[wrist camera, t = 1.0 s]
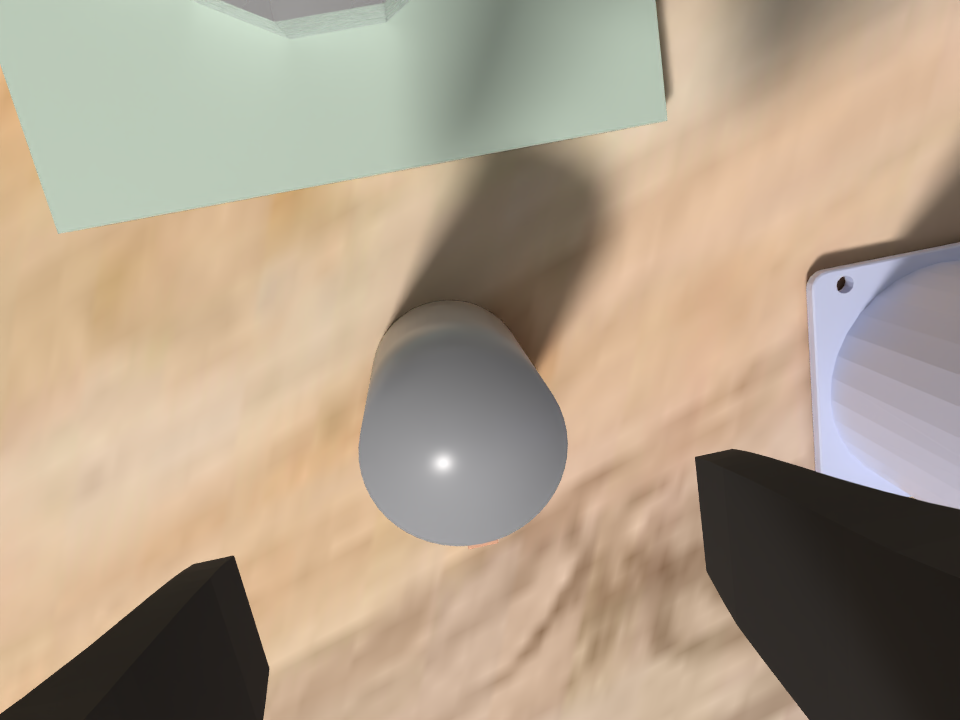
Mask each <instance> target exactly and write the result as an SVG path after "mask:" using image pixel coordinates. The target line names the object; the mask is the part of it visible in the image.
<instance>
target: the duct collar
mask: <svg viewBox="0 0 960 720" xmlns="http://www.w3.org/2000/svg"><path fill="white" fill-rule="evenodd" d="M191 1H193V2H196V3H198V4H201V5H203V6H206V7H209V8H211V9H214V10H216V11H219V12H221V13H224V14H226V15H229V16H232V17H234V18H237V19H239V20H242V21H244V22H247V23H249V24H252V25H255V26H257V27H260V28H262V29H265V30H267V31H270V32H272V33H275V34H278V35H280V36H283V37H285V38H288V39H295V38H300V37H306V36H312V35H318V34H323V33H329V32H335V31H341V30H346V29H352V28H358V27H363V26H369V25H375V24H381V23H386V22H388V21H389V20H390V19H391V18H392V17H393V16H394V15H395V14H396V13H397V12H398V11H399V10H401V9H402V8H403V7H404V6H405V5H406V4H407V3H408V2H409V1H410V0H191Z"/></svg>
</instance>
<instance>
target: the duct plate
mask: <svg viewBox="0 0 960 720" xmlns="http://www.w3.org/2000/svg"><path fill="white" fill-rule="evenodd" d="M0 65H1V68H2V71H3V73H4V76H5V79H6V82H7V85H8V88H9V91H10V94H11V97H12V100H13V103H14V106H15V109H16V112H17V114H18V117H19V120H20V123H21V126H22V129H23V132H24V135H25V138H26V141H27V144H28V147H29V150H30V153H31V155H32V158H33V161H34V164H35V167H36V170H37V173H38V176H39V179H40V182H41V185H42V188H43V191H44V193H45V196H46V199H47V202H48V205H49V208H50V211H51V214H52V217H53V220H54V223H55V226H56V229H57V232H58V234H59V233H65V232H72V231H77V230H83V229H88V228H94V227H99V226H104V225H110V224H115V223H120V222H126V221H131V220H137V219H142V218H147V217H153V216H158V215H164V214H169V213H174V212H180V211H185V210H190V209H196V208H201V207H207V206H212V205H217V204H223V203H228V202H234V201H239V200H244V199H250V198H255V197H260V196H266V195H271V194H277V193H282V192H287V191H293V190H298V189H304V188H309V187H314V186H320V185H325V184H330V183H336V182H341V181H347V180H352V179H357V178H363V177H368V176H373V175H379V174H384V173H390V172H395V171H400V170H406V169H411V168H417V167H422V166H427V165H433V164H438V163H443V162H449V161H454V160H460V159H465V158H470V157H476V156H481V155H487V154H492V153H497V152H503V151H508V150H513V149H519V148H524V147H530V146H535V145H540V144H546V143H551V142H556V141H562V140H567V139H573V138H578V137H583V136H589V135H594V134H600V133H605V132H610V131H616V130H621V129H626V128H632V127H637V126H643V125H648V124H653V123H658V122H663V121H667V111H666V101H665V91H664V81H663V71H662V61H661V51H660V41H659V31H658V21H657V11H656V1H655V0H410V1H409V2H408V3H407V4H406V5H405V6H404V7H403V8H402V9H401V10H399V11H398V12H397V13H396V14H395V15H394V16H393V17H392V18H391V19H390V20H389V21H388V22H386V23H381V24H375V25H369V26H363V27H358V28H352V29H346V30H341V31H335V32H329V33H323V34H318V35H312V36H306V37H300V38H295V39H288V38H285V37H283V36H280V35H278V34H275V33H272V32H270V31H267V30H265V29H262V28H260V27H257V26H255V25H252V24H249V23H247V22H244V21H242V20H239V19H237V18H234V17H232V16H229V15H226V14H224V13H221V12H219V11H216V10H214V9H211V8H209V7H206V6H203V5H201V4H198V3H196V2H193V1H191V0H0Z"/></svg>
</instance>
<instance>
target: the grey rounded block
mask: <svg viewBox="0 0 960 720" xmlns="http://www.w3.org/2000/svg"><path fill="white" fill-rule="evenodd" d="M567 447H568V441H567V430H566V426H565V421H564V418H563V415H562V412H561V410H560V407H559V405H558V403H557V402H556V400H555V398H554V396H553V394H552V393H551V391H550V390H549V388H548V387H547V385H546V384H545V382H544V381H543V379H542V378H541V376H540V375H539V373H538V372H537V370H536V369H535V367H534V366H533V364H532V363H531V361H530V360H529V358H528V357H527V355H526V354H525V352H524V351H523V349H522V348H521V346H520V345H519V343H518V342H517V340H516V339H515V337H514V336H513V334H512V333H511V331H510V330H509V329H508V327H507V326H506V325H505V324H504V323H503V322H502V321H501V320H500V319H499V318H498V317H496V316H495V315H494V314H493V313H491V312H489V311H488V310H486V309H484V308H482V307H480V306H477V305H475V304H472V303H468V302H464V301H456V300H442V301H435V302H431V303H427V304H423V305H421V306H419V307H416V308H414V309H412V310H410V311H409V312H407V313H405V314H404V315H403V316H401V317H400V318H399V319H398V320H397V321H396V322H395V323H394V324H392V325H391V327H390V328H389V329H388V330H387V332H386V333H385V334H384V336H383V338H382V340H381V341H380V343H379V346H378V348H377V351H376V354H375V358H374V362H373V367H372V373H371V378H370V384H369V389H368V394H367V400H366V405H365V411H364V416H363V422H362V427H361V433H360V441H359V463H360V469H361V474H362V477H363V480H364V484H365V486H366V488H367V490H368V492H369V494H370V497H371V498H372V500H373V501H374V503H375V504H376V506H377V507H378V508H379V509H380V511H381V512H382V513H383V514H384V515H385V516H386V517H387V518H388V519H389V520H390V521H391V522H393V523H394V524H395V525H396V526H398V527H399V528H401V529H402V530H404V531H405V532H407V533H409V534H411V535H413V536H415V537H417V538H420V539H423V540H425V541H428V542H432V543H437V544H441V545H450V546H468V549H472V548H477V547H482V546H486V545H491V544H496V543H498V539H500V538H502V537H505V536H507V535H509V534H511V533H513V532H515V531H516V530H518V529H520V528H521V527H523V526H524V525H525V524H527V523H528V522H530V521H531V520H532V519H533V518H534V517H535V516H536V515H537V514H538V513H540V511H541V510H542V509H543V508H544V507H545V505H546V504H547V503H548V502H549V500H550V499H551V497H552V496H553V494H554V493H555V491H556V489H557V487H558V485H559V483H560V481H561V478H562V475H563V472H564V469H565V464H566V459H567Z"/></svg>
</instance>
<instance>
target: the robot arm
mask: <svg viewBox="0 0 960 720" xmlns="http://www.w3.org/2000/svg"><path fill="white" fill-rule="evenodd" d="M843 276H844V277H845V286H844V287H843V288H842V289H841V290H839V291H838V290H837V287H836V286H837V282H838V280H839V279H840V278H841V277H843ZM806 294H807V314H808V333H809V353H810V373H811V392H812V412H813V432H814V451H815V471H813V470H809V469H806V468H803V467H799V466H796V465H793V464H790V463H786V462H783V461H780V460H776V459H773V458H769V457H766V456H762V455H759V454H755V453H751V452H747V451H742V450H736V449H730V450H726V451H721V452H716V453H712V454H707V455H702V456H698V457H695V462H696V472H697V482H698V492H699V502H700V512H701V521H702V531H703V541H704V551H705V561H706V570H707V573H708V575H709V576H710V578H711V580H712V582H713V584H714V586H715V587H716V589H717V591H718V593H719V595H720V596H721V598H722V600H723V602H724V604H725V605H726V607H727V609H728V610H729V612H730V614H731V615H732V617H733V619H734V621H735V622H736V624H737V625H738V627H739V628H740V630H741V631H742V632H743V634H744V635H745V636H746V638H747V639H748V640H749V642H750V643H751V644H752V646H753V647H754V648H755V650H756V651H757V652H758V654H759V655H760V656H761V658H762V659H763V660H764V662H765V663H766V664H767V665H768V667H769V668H770V669H771V671H772V672H773V673H774V675H775V676H776V677H777V678H778V680H779V681H780V682H781V684H782V685H783V686H784V688H785V689H786V690H787V691H788V693H789V694H790V695H791V697H792V698H793V699H794V701H795V702H796V703H797V704H798V706H799V707H800V708H801V710H802V711H803V712H804V714H805V715H806V716H807V717H808V719H809V720H960V242H958V243H953V244H948V245H943V246H938V247H933V248H928V249H923V250H918V251H913V252H908V253H903V254H898V255H893V256H888V257H883V258H878V259H873V260H868V261H863V262H858V263H853V264H848V265H843V266H838V267H833V268H828V269H823V270H820V271H817V272H815V273H814V274H813V275H812V276H811V277H810V278H809V280H808V282H807V287H806ZM911 496H912V497H914V498H916V499H913V498H909V497H911ZM268 676H269V666H268V663H267V660H266V656H265V653H264V650H263V647H262V644H261V640H260V637H259V634H258V631H257V628H256V624H255V621H254V618H253V615H252V612H251V608H250V605H249V602H248V599H247V596H246V592H245V589H244V586H243V583H242V580H241V576H240V573H239V570H238V567H237V564H236V560H235V557H234V556H229V557H225V558H220V559H215V560H211V561H206V562H201V563H197V564H193V565H191V566H190V567H188V568H187V569H185V570H183V571H182V572H181V573H179V574H178V575H176V576H175V577H174V578H172V579H171V580H170V581H169V582H167V583H166V584H165V585H163V586H162V587H161V588H160V589H158V590H157V591H156V592H155V593H153V594H152V595H151V596H150V597H149V598H147V599H146V600H145V601H144V602H142V603H141V604H140V605H139V606H138V607H136V608H135V609H134V610H133V611H132V612H130V613H129V614H128V615H127V616H125V617H124V618H123V619H122V620H121V621H119V622H118V623H117V624H116V625H115V626H113V627H112V628H111V629H110V630H108V631H107V632H106V633H105V634H104V635H102V636H101V637H100V638H99V639H97V640H96V641H95V642H94V643H93V644H91V645H90V646H89V647H88V648H86V649H85V650H84V651H83V652H81V653H80V654H79V655H77V656H76V657H75V658H73V659H72V660H71V661H70V662H68V663H67V664H66V665H64V666H63V667H62V668H61V669H59V670H58V671H57V672H55V673H54V674H53V675H51V676H50V677H49V678H48V679H46V680H45V681H44V682H42V683H41V684H40V685H38V686H37V687H36V688H35V689H33V690H32V691H31V692H29V693H28V694H27V695H26V696H24V697H23V698H22V699H20V700H19V701H17V702H16V703H15V704H13V705H12V706H11V707H9V708H8V709H6V710H5V711H4V712H2V713H1V714H0V720H263V716H264V709H265V702H266V693H267V685H268Z"/></svg>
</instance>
